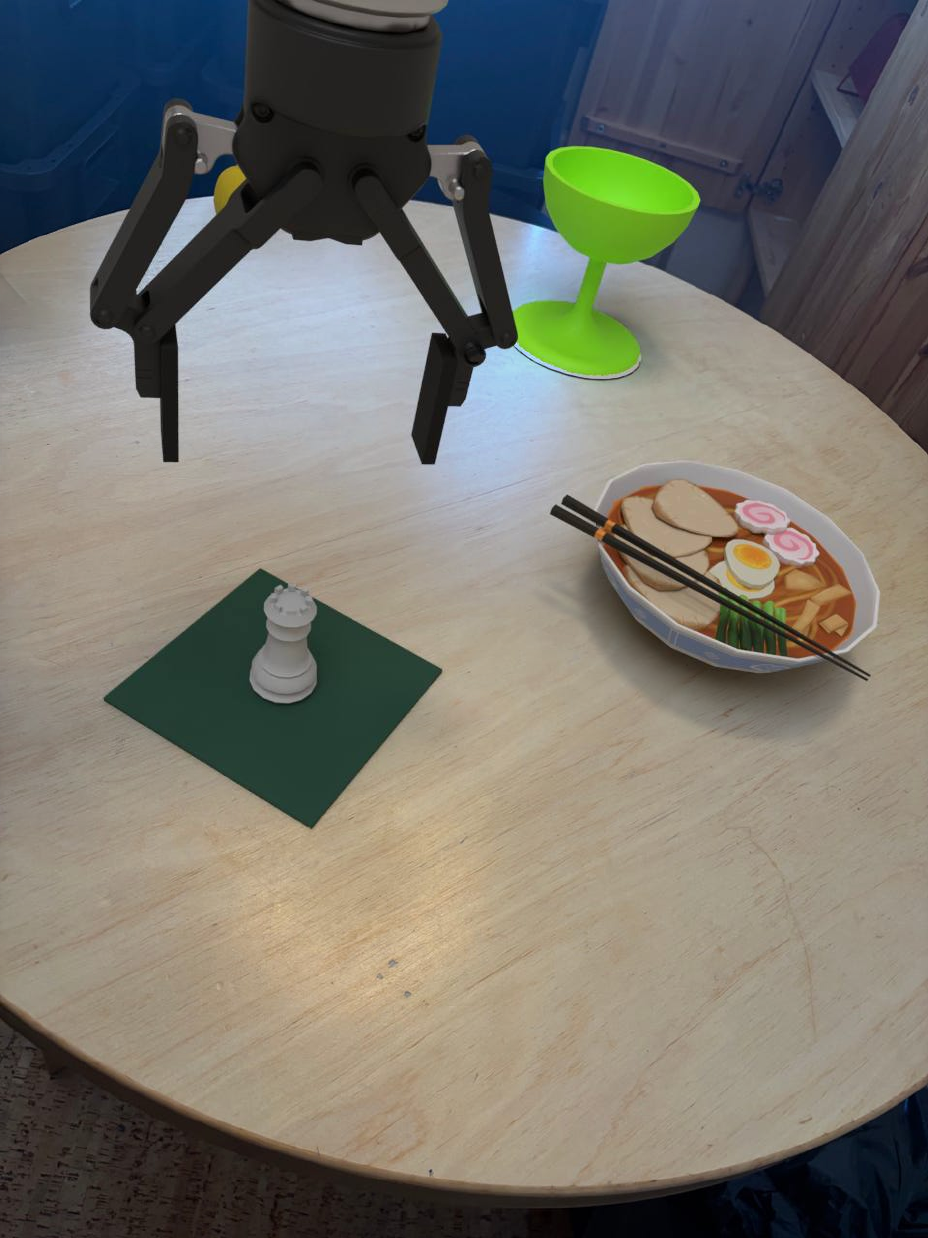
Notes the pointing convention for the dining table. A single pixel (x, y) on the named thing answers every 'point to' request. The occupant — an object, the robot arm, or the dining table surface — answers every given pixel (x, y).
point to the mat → (272, 732)
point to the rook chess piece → (286, 648)
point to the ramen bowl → (730, 566)
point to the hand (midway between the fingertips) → (301, 448)
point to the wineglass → (601, 250)
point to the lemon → (227, 186)
